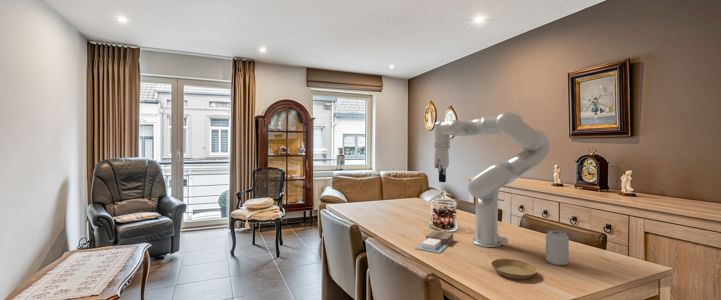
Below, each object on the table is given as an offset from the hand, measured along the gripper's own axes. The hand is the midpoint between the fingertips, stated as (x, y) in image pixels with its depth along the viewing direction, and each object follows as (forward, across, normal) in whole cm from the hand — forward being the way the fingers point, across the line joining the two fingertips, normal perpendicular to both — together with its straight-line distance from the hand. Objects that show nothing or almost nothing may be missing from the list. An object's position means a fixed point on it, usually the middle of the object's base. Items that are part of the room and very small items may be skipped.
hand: (442, 181), depth 161 cm
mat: (+27, +22, +2) cm, 35 cm away
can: (+27, +16, +50) cm, 59 cm away
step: (+27, +12, +2) cm, 29 cm away
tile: (+27, +21, +2) cm, 34 cm away
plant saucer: (+27, +34, +36) cm, 57 cm away
